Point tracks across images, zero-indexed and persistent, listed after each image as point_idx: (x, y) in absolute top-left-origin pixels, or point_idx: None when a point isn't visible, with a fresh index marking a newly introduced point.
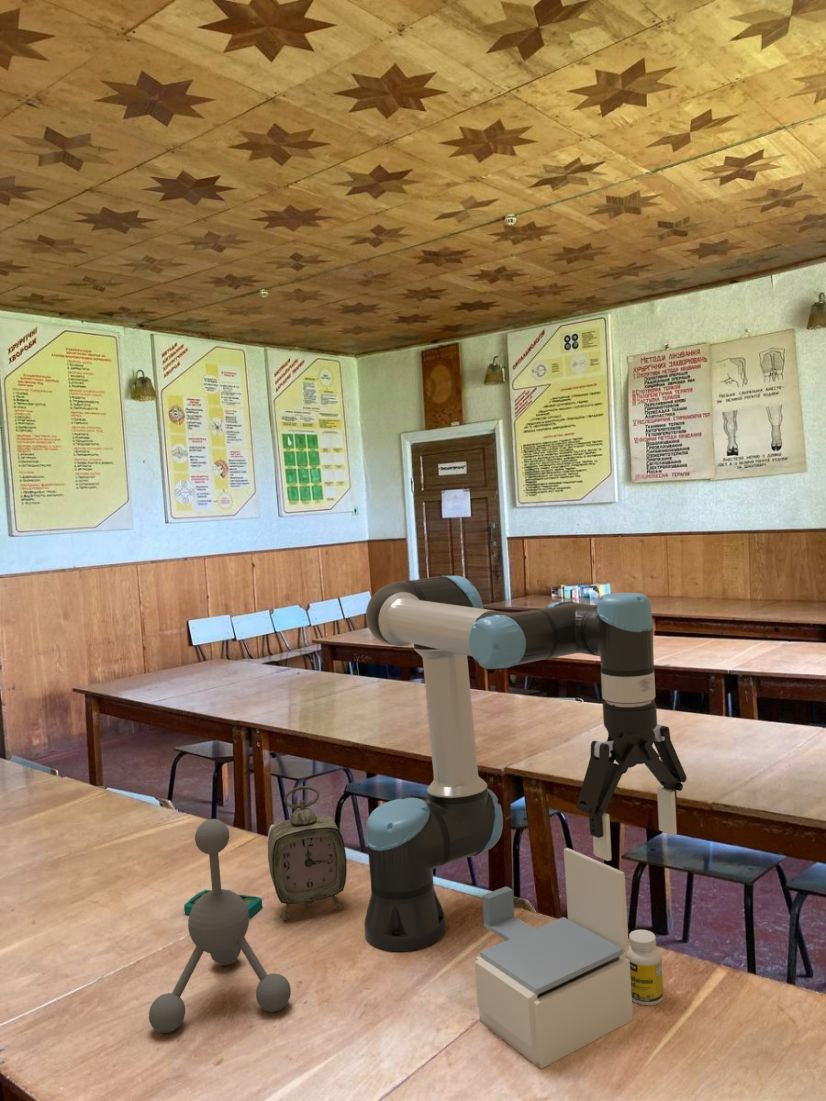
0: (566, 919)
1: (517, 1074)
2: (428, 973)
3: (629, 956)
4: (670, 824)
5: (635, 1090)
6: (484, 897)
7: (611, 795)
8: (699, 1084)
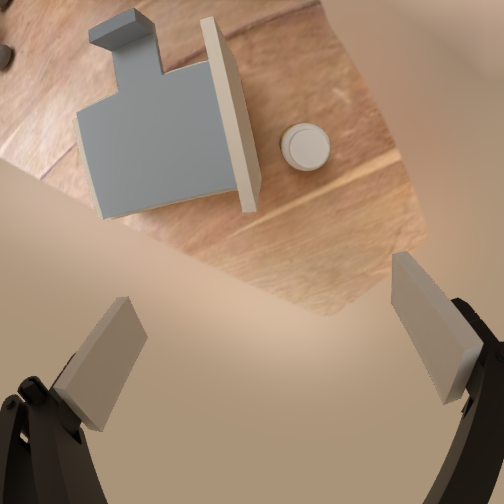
0: None
1: None
2: None
3: (282, 146)
4: (402, 313)
5: (200, 260)
6: (89, 35)
7: (95, 480)
8: (254, 278)
